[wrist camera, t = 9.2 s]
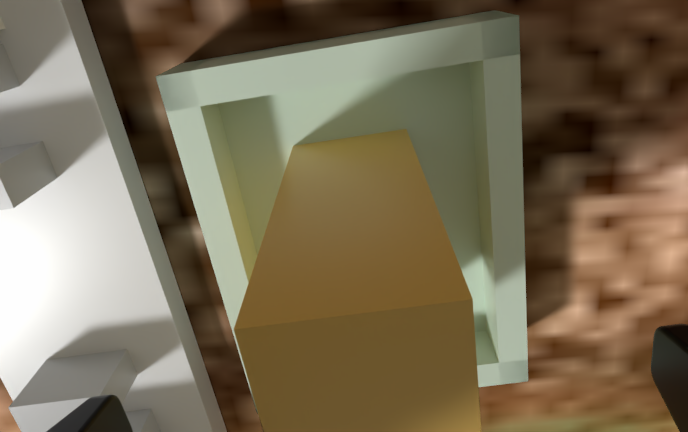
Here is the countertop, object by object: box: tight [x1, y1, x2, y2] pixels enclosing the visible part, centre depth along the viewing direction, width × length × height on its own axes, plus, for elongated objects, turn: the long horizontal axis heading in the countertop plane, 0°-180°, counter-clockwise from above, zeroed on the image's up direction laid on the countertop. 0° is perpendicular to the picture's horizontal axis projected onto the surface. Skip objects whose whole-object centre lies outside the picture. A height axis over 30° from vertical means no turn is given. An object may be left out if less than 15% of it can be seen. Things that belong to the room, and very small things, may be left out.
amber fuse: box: [234, 129, 481, 432], centre depth 11 cm, size 5×3×8 cm, turn 9°
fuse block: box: [0, 0, 227, 432], centre depth 15 cm, size 26×6×3 cm, turn 9°
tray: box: [156, 10, 528, 414], centre depth 14 cm, size 10×8×2 cm
